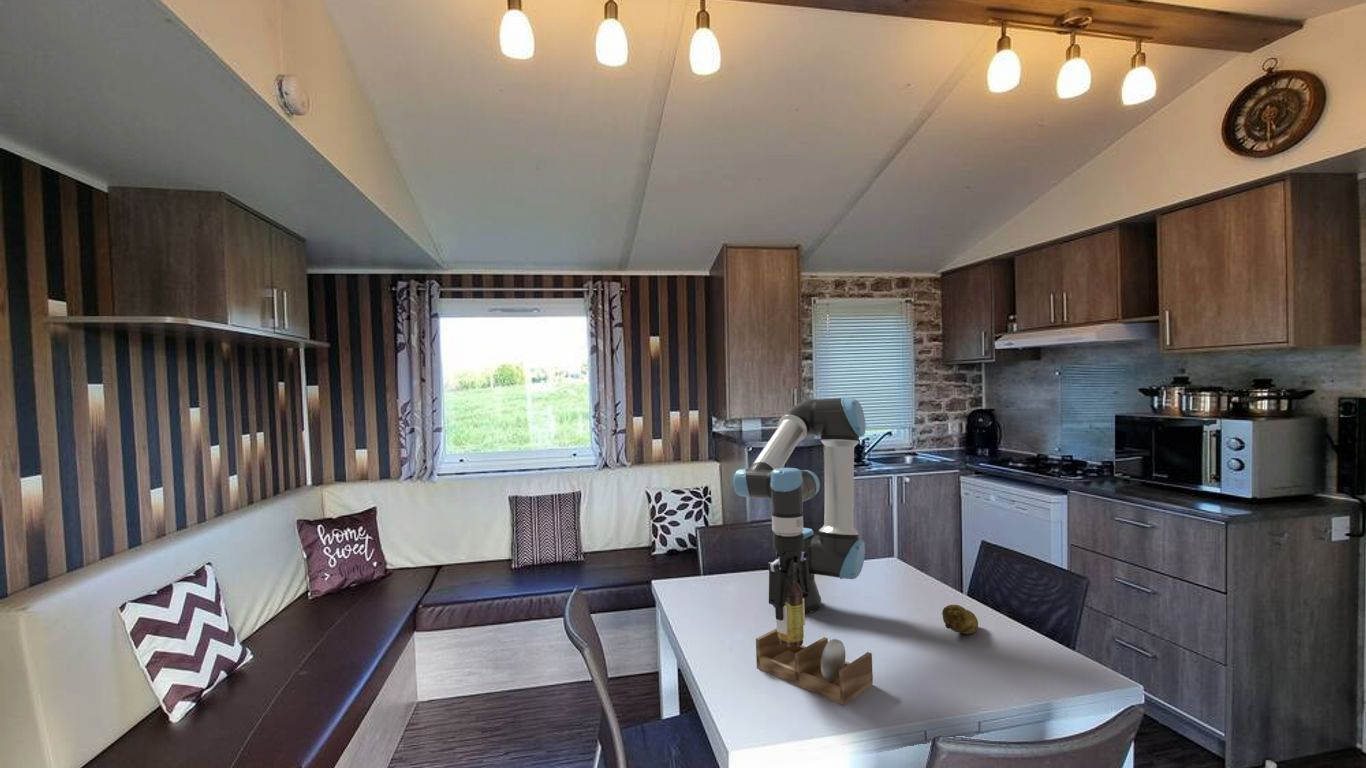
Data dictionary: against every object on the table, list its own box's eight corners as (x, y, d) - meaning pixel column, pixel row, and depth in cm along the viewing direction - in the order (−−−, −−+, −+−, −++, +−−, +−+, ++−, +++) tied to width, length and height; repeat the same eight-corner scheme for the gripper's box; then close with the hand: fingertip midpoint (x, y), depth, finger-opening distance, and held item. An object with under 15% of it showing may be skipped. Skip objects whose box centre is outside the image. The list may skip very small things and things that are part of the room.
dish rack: (756, 667, 137) (755, 626, 137) (786, 651, 145) (785, 612, 145) (844, 705, 119) (842, 658, 120) (872, 684, 128) (871, 639, 128)
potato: (992, 634, 151) (991, 604, 152) (958, 643, 146) (956, 612, 146) (966, 622, 159) (964, 594, 159) (932, 631, 154) (931, 602, 154)
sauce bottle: (775, 638, 140) (772, 558, 140) (799, 637, 140) (797, 557, 141) (782, 650, 133) (779, 566, 133) (807, 648, 134) (804, 564, 134)
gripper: (775, 542, 128) (779, 645, 127) (823, 527, 141) (826, 620, 140) (750, 537, 133) (753, 635, 133) (798, 523, 146) (801, 612, 146)
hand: (791, 627), depth 136 cm, fingers closed on sauce bottle, 6 cm apart
